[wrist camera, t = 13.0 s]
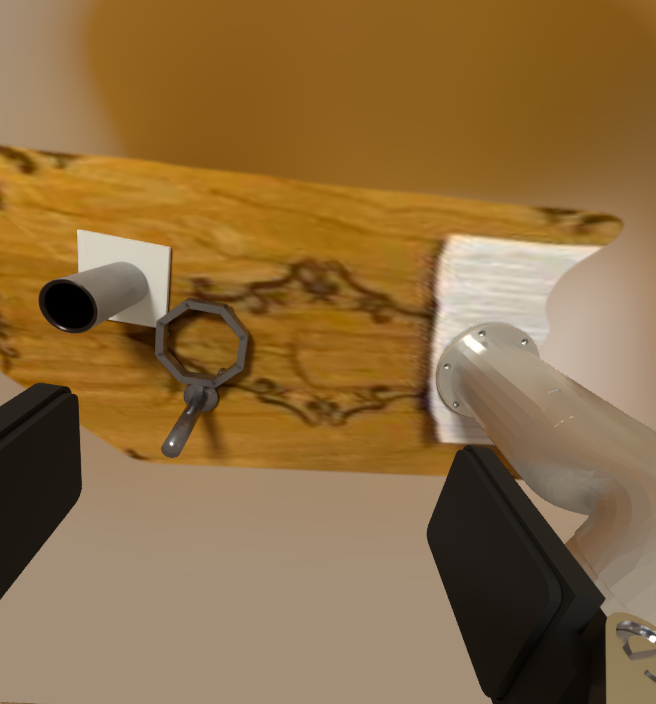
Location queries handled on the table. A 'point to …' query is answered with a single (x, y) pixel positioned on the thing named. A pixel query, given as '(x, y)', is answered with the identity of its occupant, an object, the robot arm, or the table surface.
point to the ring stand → (200, 386)
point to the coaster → (144, 256)
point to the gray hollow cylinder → (91, 296)
